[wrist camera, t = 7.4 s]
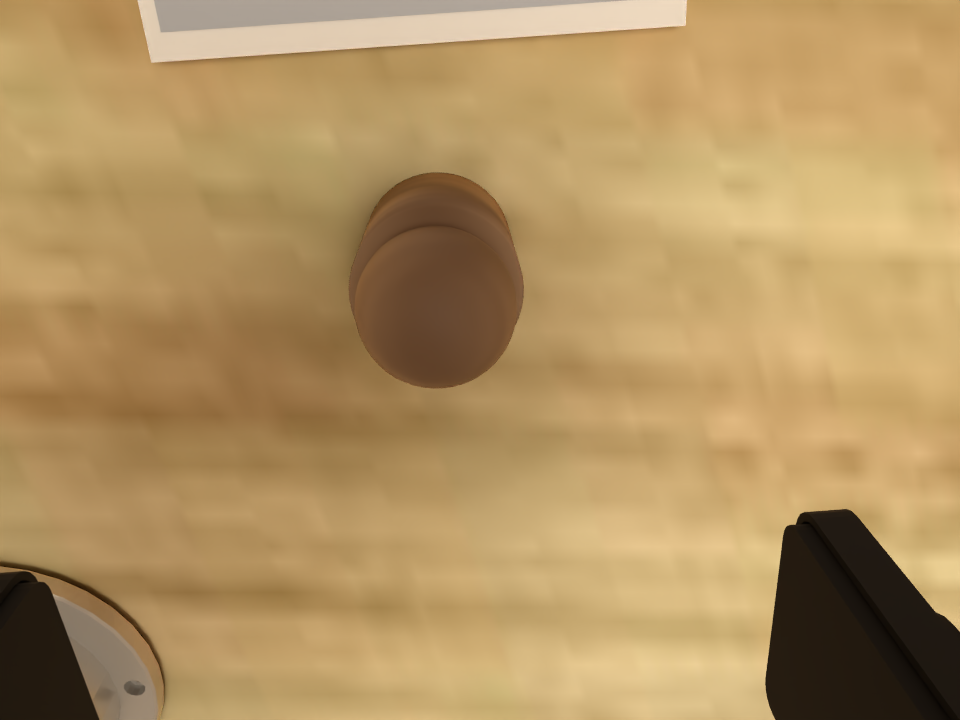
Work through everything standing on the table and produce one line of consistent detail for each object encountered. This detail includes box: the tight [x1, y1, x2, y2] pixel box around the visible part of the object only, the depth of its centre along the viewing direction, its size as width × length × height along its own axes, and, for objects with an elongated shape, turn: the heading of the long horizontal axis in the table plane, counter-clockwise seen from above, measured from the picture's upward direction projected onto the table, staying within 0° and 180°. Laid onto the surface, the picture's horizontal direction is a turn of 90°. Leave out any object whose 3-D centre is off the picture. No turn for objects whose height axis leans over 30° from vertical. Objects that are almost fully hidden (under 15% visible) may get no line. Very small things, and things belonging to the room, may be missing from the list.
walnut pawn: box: [349, 173, 524, 388], centre depth 23 cm, size 5×5×8 cm
